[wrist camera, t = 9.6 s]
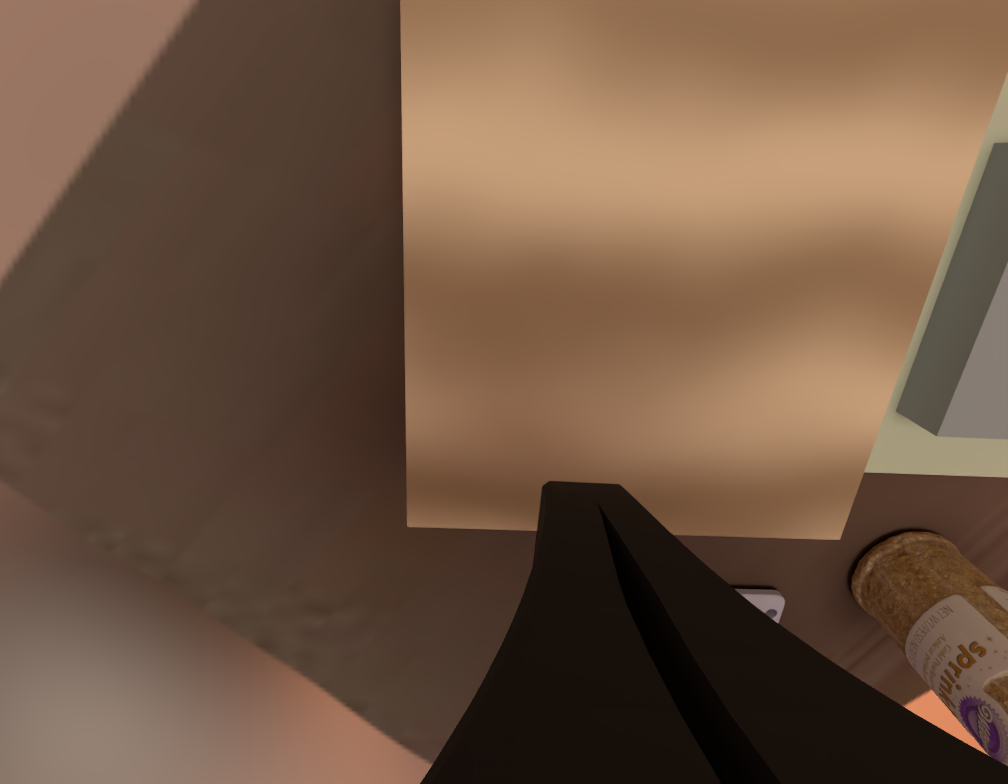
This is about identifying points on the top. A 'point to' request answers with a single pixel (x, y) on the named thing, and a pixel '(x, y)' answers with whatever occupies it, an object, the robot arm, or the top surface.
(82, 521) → the top surface
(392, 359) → the top surface
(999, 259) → the grey rectangular block
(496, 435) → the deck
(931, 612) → the sprinkles bottle
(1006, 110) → the mat
